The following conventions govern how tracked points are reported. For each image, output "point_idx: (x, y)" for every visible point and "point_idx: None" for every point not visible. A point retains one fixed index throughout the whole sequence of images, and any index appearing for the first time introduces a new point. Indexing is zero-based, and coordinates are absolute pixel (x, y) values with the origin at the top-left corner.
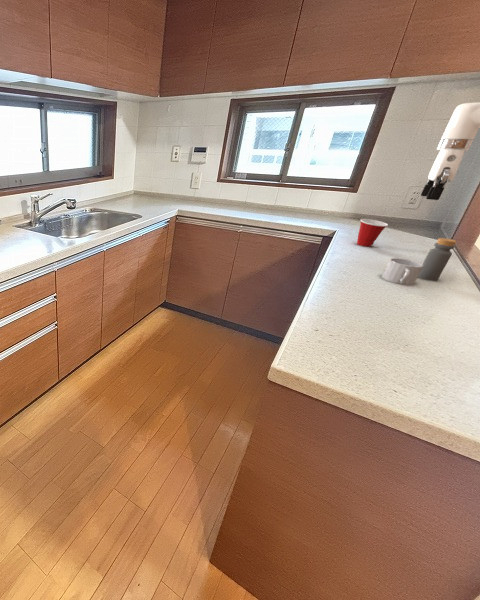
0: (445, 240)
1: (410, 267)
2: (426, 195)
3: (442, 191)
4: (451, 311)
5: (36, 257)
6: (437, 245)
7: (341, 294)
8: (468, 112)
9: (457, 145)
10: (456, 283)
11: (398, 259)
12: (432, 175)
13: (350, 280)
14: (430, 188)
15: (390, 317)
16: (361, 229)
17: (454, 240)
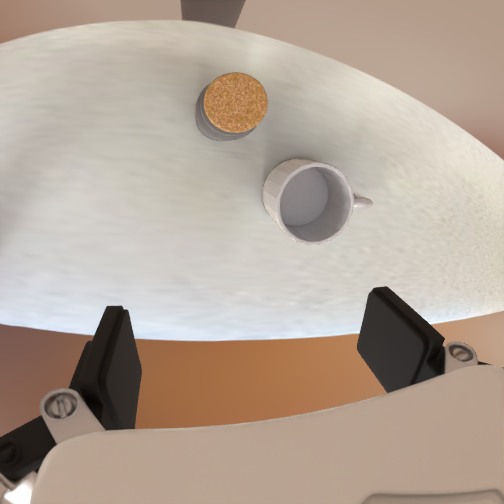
0: (261, 113)
1: (352, 198)
2: (133, 346)
3: (423, 321)
4: (434, 138)
5: None
6: (250, 129)
7: (434, 291)
8: None
9: None
10: (223, 56)
11: (280, 218)
12: None
13: (362, 286)
14: (122, 391)
15: (479, 232)
16: None
17: (232, 77)
